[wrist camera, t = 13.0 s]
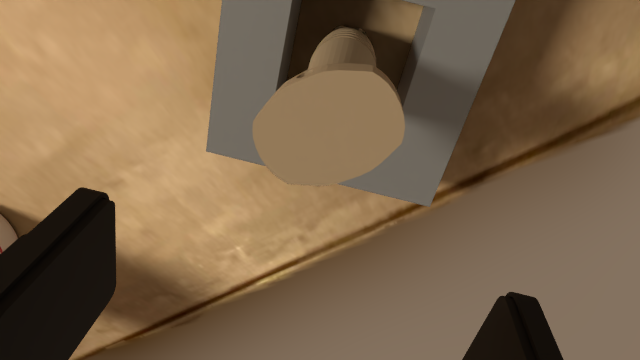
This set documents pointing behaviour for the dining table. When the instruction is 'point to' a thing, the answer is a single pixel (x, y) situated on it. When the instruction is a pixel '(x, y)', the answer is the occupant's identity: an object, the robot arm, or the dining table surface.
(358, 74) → the handle
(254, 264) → the dining table surface
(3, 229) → the fruit juice
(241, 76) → the well block
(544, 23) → the dining table surface
